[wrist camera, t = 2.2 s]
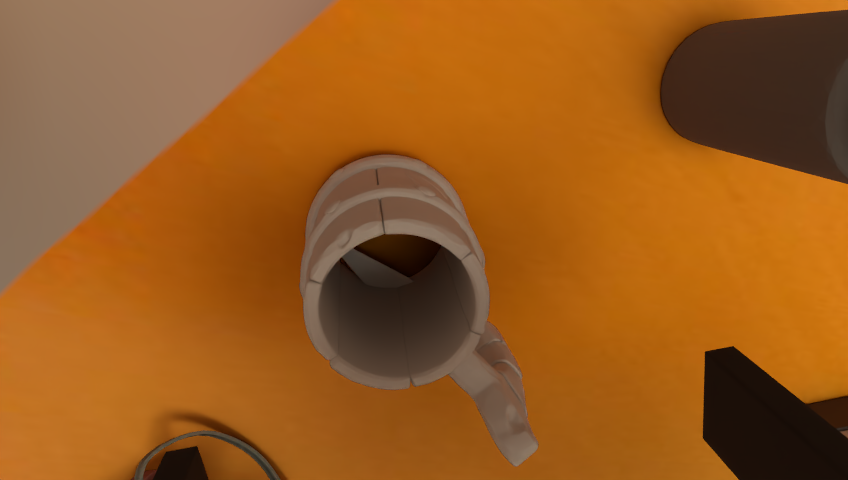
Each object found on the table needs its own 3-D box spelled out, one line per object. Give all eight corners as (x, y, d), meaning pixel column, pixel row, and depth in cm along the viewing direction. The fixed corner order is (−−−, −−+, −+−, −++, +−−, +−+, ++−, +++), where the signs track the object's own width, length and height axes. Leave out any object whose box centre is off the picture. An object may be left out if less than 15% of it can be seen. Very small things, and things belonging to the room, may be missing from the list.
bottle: (770, 7, 27) (1223, -45, 13) (775, 127, 29) (1175, 198, 15) (652, 38, 27) (977, 22, 13) (665, 157, 29) (960, 258, 15)
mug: (389, 115, 27) (410, 160, 15) (540, 282, 30) (648, 419, 19) (275, 222, 28) (215, 339, 16) (434, 371, 31) (475, 553, 20)
